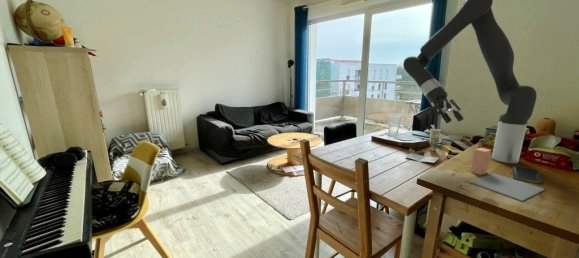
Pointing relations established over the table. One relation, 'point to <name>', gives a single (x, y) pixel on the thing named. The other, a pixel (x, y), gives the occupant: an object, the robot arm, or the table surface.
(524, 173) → the phone
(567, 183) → the table surface
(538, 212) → the table surface
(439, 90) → the robot arm
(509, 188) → the mat
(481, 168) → the block
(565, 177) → the table surface
